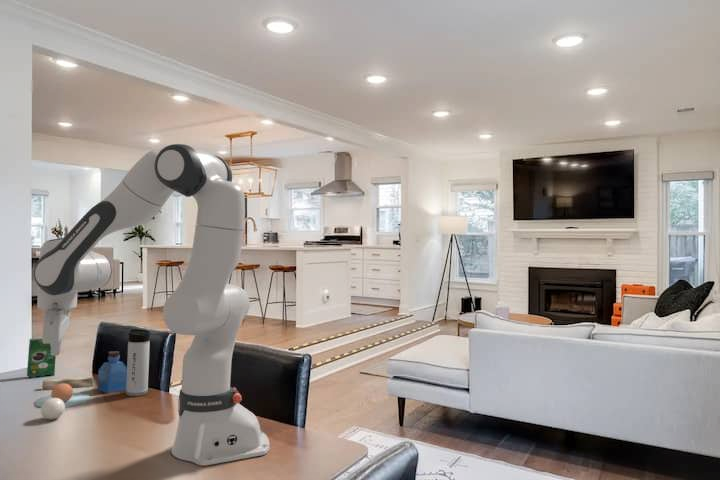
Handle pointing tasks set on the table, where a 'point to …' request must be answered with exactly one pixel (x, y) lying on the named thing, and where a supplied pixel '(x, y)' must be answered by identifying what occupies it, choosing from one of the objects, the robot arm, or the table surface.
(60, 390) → the object ball
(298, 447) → the table surface
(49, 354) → the coffee box
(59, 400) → the cue ball
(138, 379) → the travel mug
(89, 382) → the rail
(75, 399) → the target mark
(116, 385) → the perfume bottle
